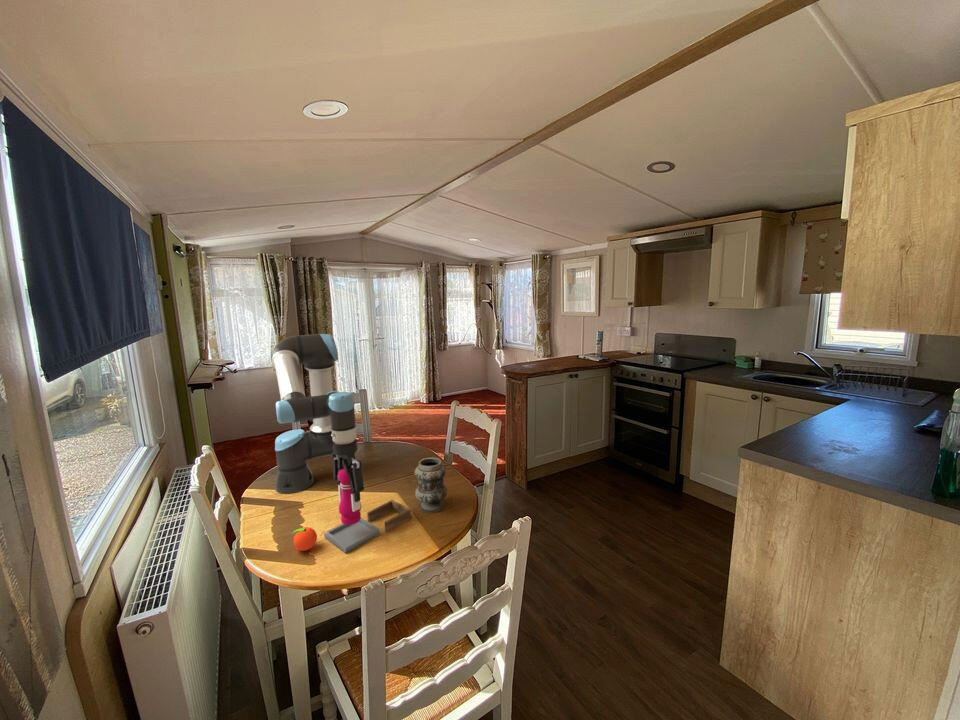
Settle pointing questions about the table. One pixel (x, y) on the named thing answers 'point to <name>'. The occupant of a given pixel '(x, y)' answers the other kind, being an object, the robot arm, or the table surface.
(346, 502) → the pepper mill
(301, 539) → the clementine
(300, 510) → the table surface
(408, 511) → the cubby
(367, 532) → the tray
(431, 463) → the apothecary jar
